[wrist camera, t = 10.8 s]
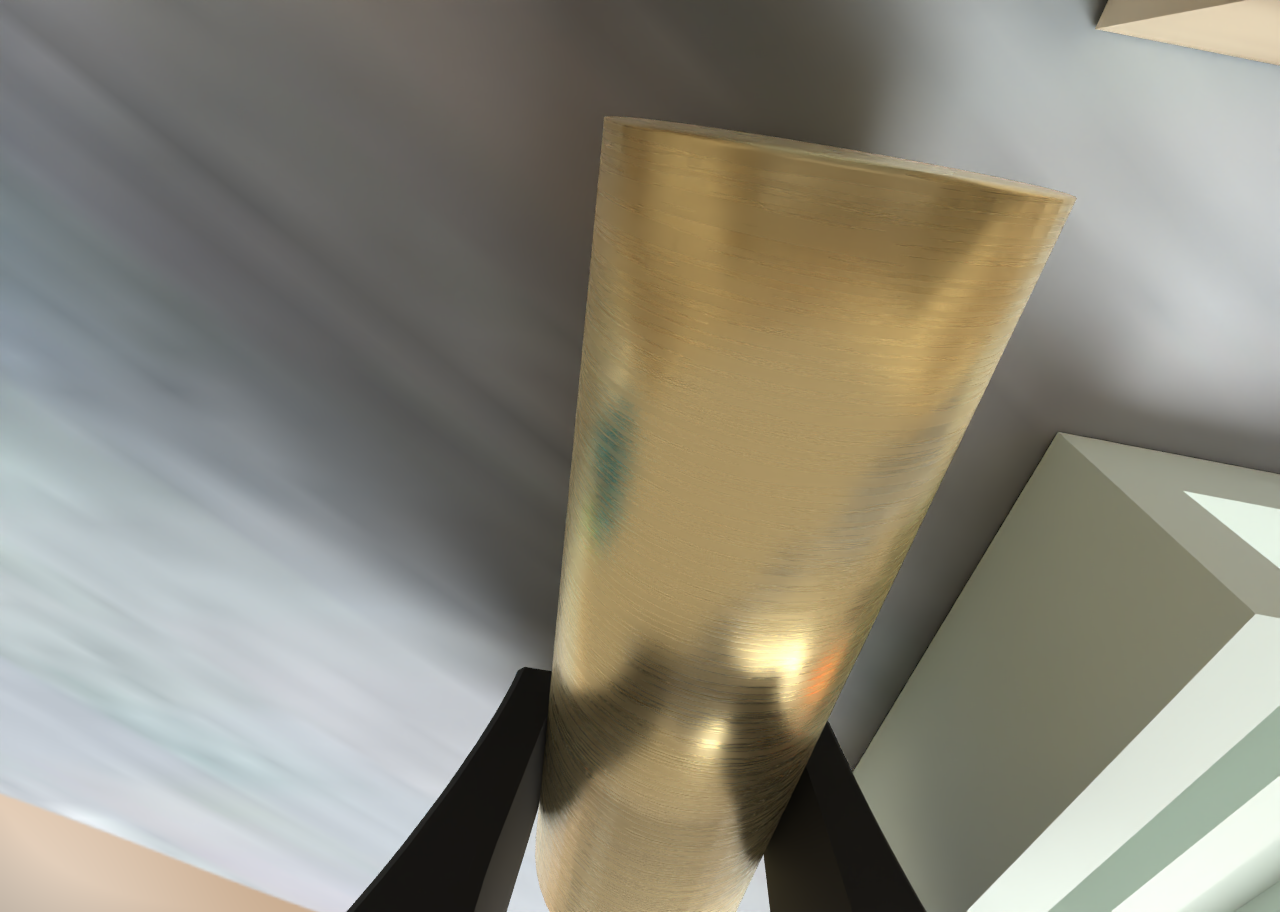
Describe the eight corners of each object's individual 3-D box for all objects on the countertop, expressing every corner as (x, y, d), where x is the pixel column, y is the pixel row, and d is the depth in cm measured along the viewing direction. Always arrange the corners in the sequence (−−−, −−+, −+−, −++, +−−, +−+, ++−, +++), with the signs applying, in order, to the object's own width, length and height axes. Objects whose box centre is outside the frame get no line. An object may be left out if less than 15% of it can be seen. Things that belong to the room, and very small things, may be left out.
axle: (628, 112, 7) (564, 122, 4) (961, 167, 7) (1208, 227, 4) (558, 733, 13) (510, 954, 10) (737, 762, 13) (751, 992, 10)
